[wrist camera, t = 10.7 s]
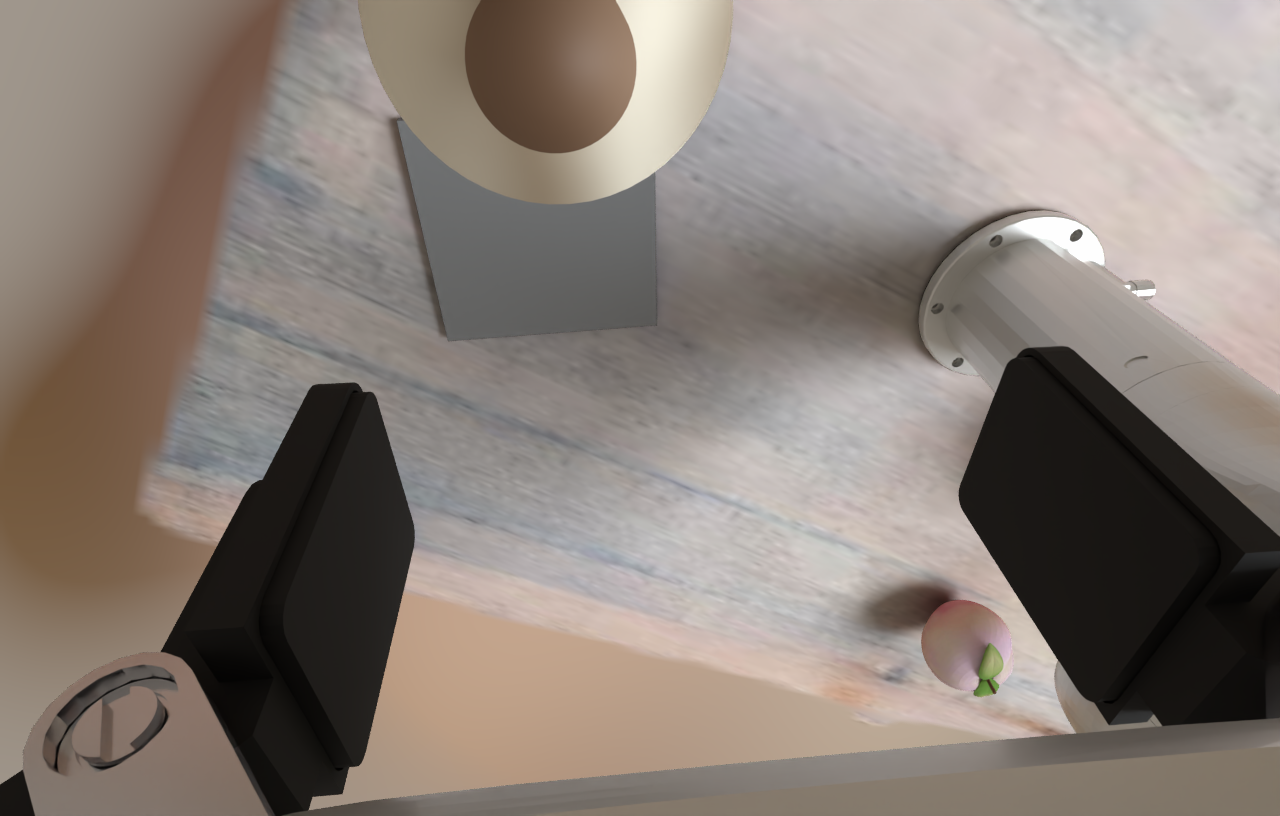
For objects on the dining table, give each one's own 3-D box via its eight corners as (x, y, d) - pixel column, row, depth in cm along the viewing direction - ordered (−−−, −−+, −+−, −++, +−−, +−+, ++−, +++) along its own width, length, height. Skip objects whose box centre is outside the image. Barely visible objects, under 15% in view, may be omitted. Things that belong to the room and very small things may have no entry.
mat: (652, 104, 38) (654, 106, 38) (655, 320, 47) (656, 325, 46) (398, 118, 37) (396, 120, 37) (449, 336, 46) (448, 341, 45)
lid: (732, -227, 17) (810, -273, 12) (718, 179, 23) (765, 264, 18) (314, -212, 16) (207, -252, 11) (415, 201, 22) (376, 296, 17)
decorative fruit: (897, 593, 69) (942, 684, 62) (977, 566, 68) (1033, 656, 60) (911, 639, 75) (953, 728, 67) (985, 615, 74) (1037, 703, 66)
